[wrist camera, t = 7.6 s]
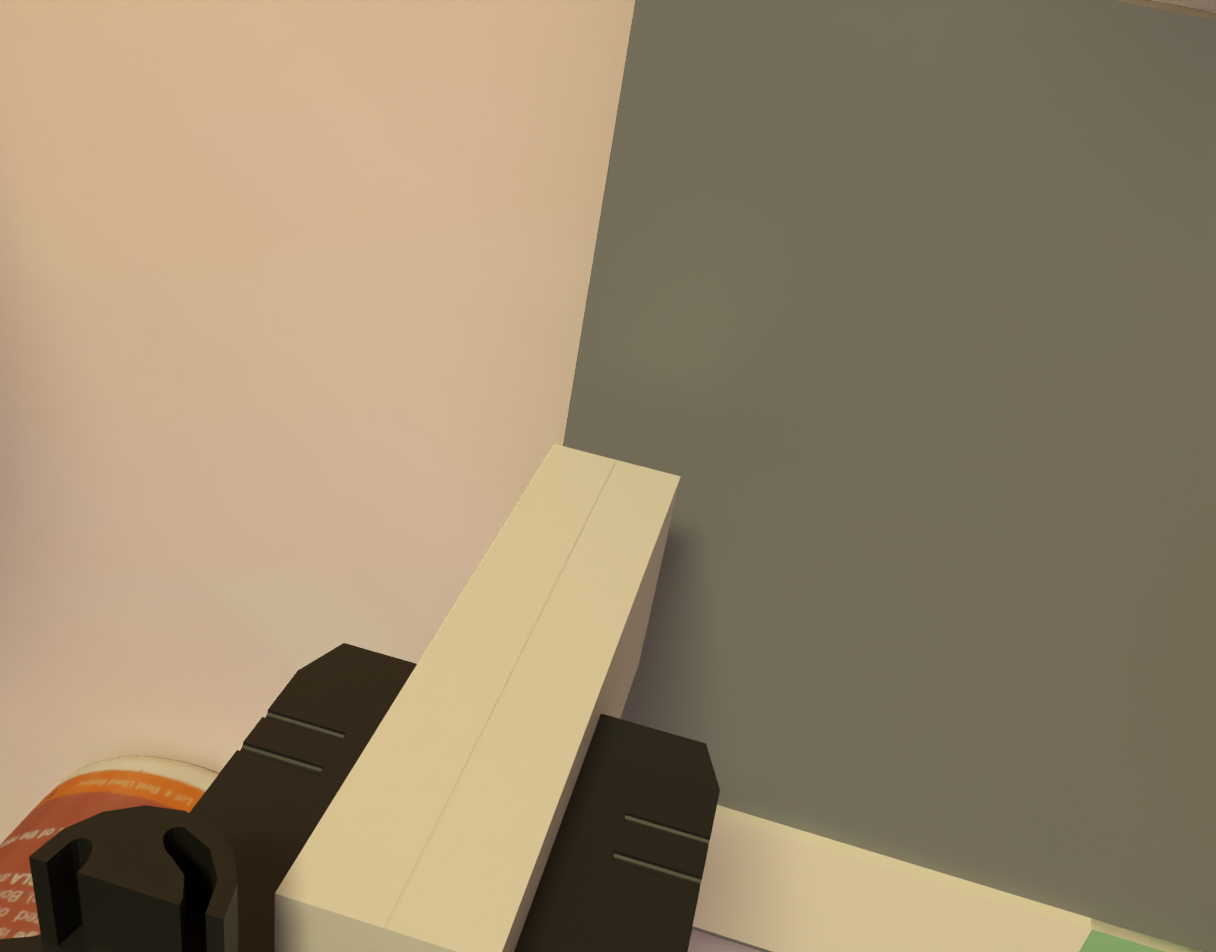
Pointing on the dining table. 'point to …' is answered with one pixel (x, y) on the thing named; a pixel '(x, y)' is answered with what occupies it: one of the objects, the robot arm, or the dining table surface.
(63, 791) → the pill bottle
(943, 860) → the board
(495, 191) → the dining table surface
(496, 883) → the robot arm
